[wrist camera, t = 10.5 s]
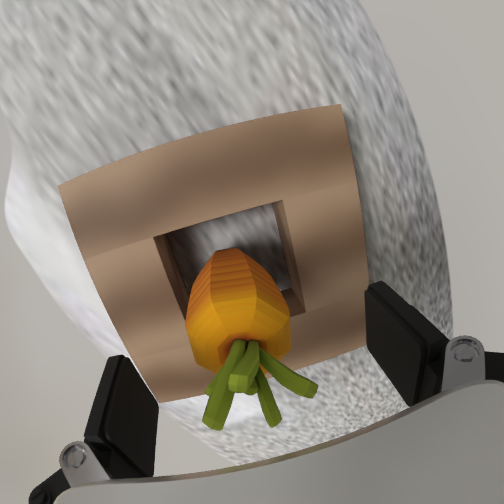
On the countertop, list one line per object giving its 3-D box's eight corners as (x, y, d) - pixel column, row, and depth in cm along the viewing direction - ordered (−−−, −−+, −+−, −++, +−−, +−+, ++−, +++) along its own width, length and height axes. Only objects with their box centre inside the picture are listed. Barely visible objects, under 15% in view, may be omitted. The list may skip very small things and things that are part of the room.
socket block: (81, 179, 19) (57, 185, 15) (318, 110, 20) (340, 104, 16) (163, 372, 25) (159, 403, 22) (352, 318, 26) (372, 342, 23)
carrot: (268, 232, 23) (354, 369, 9) (249, 291, 24) (296, 457, 10) (202, 216, 21) (190, 350, 7) (187, 278, 23) (169, 448, 9)
